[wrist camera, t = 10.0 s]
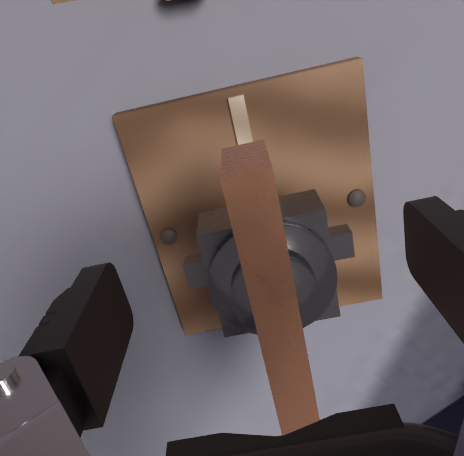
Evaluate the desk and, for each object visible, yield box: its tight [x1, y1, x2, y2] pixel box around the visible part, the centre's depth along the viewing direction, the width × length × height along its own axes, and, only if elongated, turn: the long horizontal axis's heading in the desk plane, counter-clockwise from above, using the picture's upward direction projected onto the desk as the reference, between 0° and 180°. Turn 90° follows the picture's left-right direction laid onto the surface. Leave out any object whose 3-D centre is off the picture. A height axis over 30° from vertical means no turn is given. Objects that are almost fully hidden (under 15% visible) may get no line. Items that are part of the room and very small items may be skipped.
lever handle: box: [183, 139, 355, 435], centre depth 22 cm, size 10×16×9 cm, turn 12°
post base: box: [112, 57, 382, 335], centre depth 27 cm, size 18×16×9 cm
